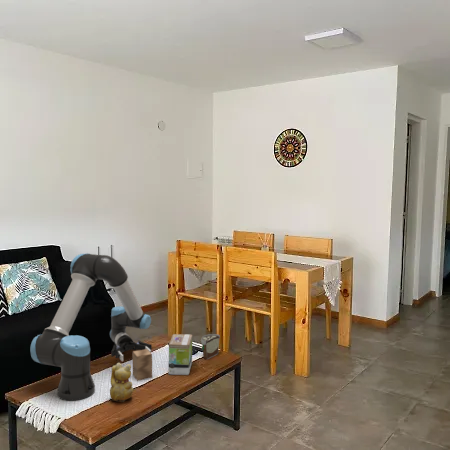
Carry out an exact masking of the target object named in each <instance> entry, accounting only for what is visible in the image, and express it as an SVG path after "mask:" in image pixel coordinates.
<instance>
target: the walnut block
mask: <svg viewBox="0 0 450 450" xmlns="http://www.w3.org/2000/svg"><path fill="white" fill-rule="evenodd" d="M131 353H132V376H133V377H134V379H135V380H136V381H143V380H147V379H152V378H153V354H152V352H151V353H150V352H149V351H148V350H147V349H144V350H132V352H131Z"/></svg>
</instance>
